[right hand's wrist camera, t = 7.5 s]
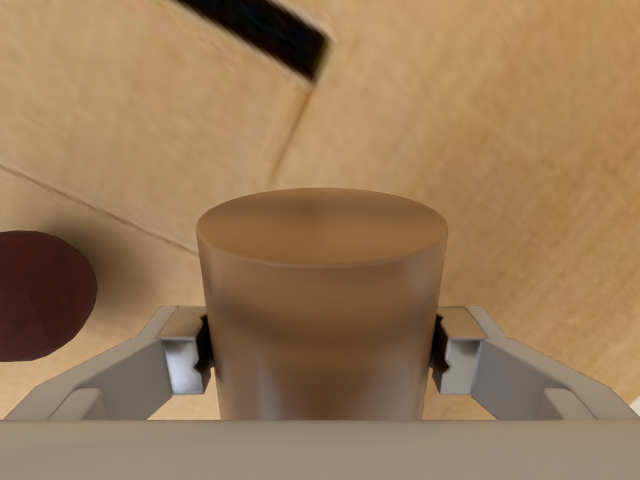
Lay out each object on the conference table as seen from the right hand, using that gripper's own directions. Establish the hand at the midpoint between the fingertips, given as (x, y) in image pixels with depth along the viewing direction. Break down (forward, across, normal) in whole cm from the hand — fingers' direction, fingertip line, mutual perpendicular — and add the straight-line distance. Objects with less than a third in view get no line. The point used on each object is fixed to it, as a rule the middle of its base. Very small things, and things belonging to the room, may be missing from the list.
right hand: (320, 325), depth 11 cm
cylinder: (+3, 0, +10) cm, 10 cm away
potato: (+13, +17, +4) cm, 22 cm away
